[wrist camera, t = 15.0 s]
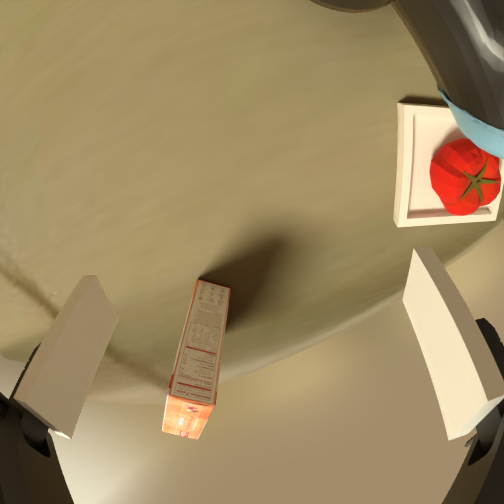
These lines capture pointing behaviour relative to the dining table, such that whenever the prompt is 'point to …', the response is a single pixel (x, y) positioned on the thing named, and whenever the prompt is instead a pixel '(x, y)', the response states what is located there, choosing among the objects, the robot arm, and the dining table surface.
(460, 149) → the tomato
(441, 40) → the robot arm
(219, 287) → the cracker box
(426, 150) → the tray
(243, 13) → the dining table surface
